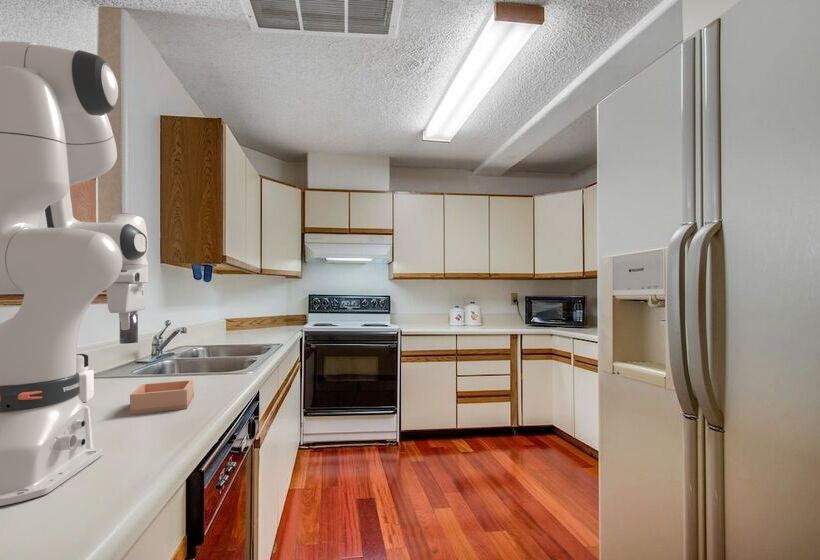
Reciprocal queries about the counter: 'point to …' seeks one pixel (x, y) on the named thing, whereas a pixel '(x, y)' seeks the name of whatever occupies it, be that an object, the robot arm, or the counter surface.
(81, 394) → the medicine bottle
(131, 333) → the battery cell
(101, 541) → the counter surface
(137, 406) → the tray
